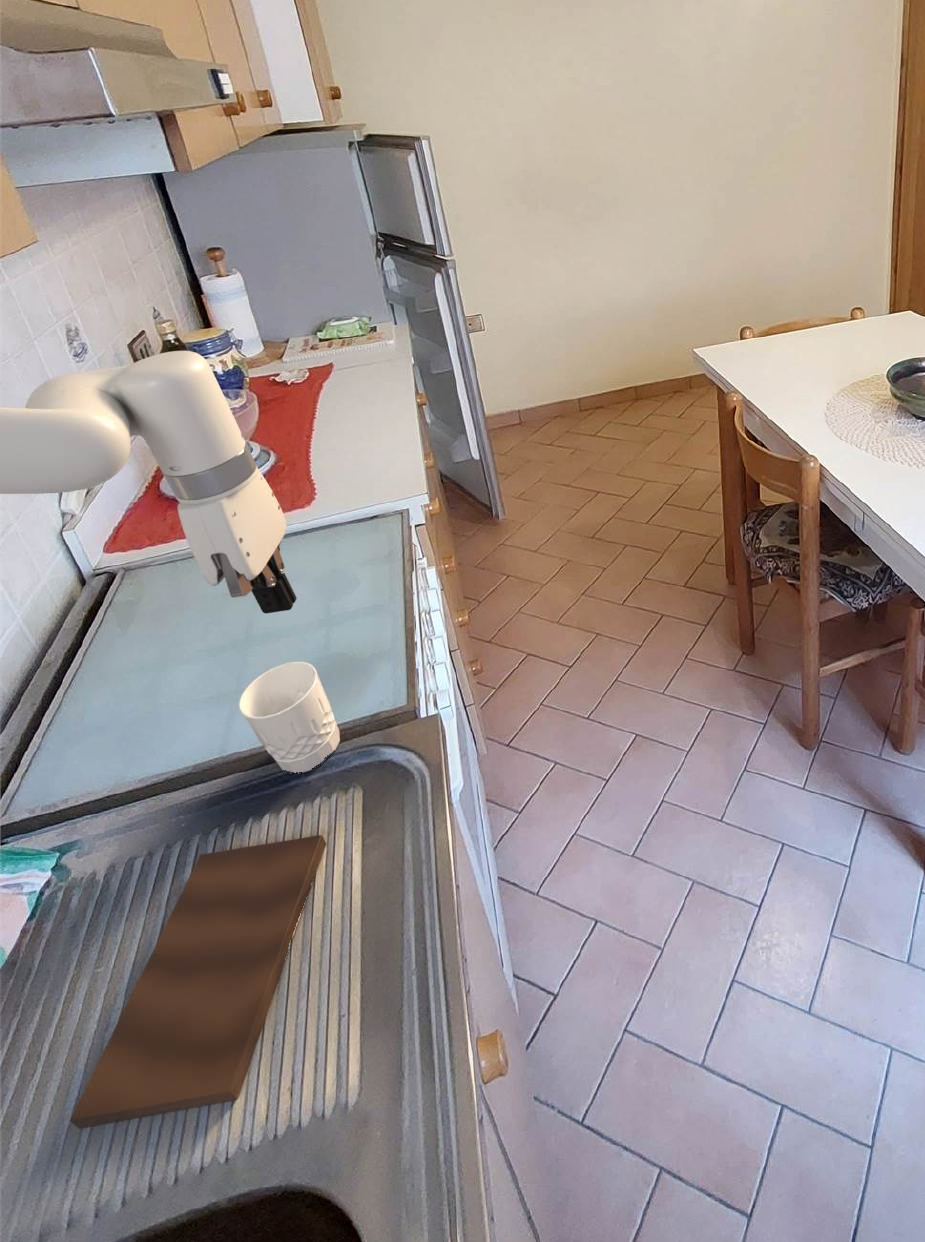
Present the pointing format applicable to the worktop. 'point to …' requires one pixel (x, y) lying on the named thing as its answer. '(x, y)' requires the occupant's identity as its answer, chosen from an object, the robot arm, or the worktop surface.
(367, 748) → the worktop surface
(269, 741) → the white cup
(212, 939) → the board
